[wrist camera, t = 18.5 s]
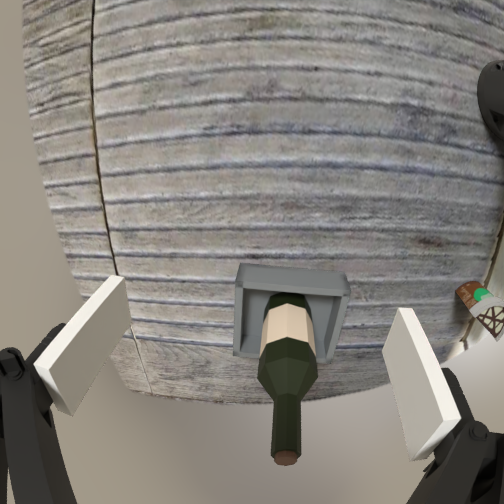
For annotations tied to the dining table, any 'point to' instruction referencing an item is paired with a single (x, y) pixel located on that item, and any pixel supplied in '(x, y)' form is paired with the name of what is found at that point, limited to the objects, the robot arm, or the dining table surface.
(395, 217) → the dining table surface
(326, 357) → the tote
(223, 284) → the dining table surface
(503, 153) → the dining table surface
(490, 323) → the food container
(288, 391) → the wine bottle
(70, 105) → the dining table surface
